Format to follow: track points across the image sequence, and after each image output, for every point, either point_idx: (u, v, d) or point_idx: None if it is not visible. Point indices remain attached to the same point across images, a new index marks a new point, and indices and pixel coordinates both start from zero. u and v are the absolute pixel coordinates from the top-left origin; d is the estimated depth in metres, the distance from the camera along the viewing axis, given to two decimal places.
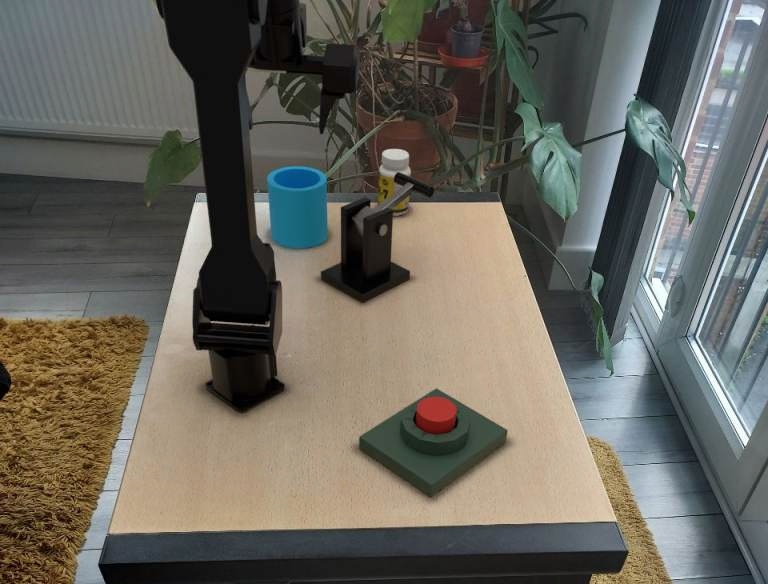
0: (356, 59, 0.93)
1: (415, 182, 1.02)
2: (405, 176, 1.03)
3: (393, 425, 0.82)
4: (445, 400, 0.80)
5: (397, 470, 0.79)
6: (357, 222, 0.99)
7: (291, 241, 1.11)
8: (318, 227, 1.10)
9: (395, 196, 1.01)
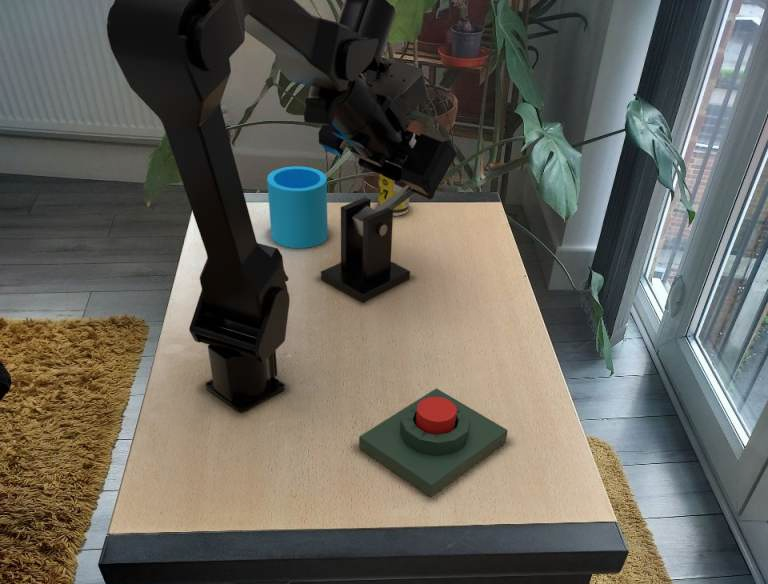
0: (436, 162, 0.90)
1: None
2: None
3: (393, 425, 0.82)
4: (445, 400, 0.80)
5: (397, 470, 0.79)
6: (357, 222, 0.99)
7: (291, 241, 1.11)
8: (318, 227, 1.10)
9: (395, 197, 1.01)
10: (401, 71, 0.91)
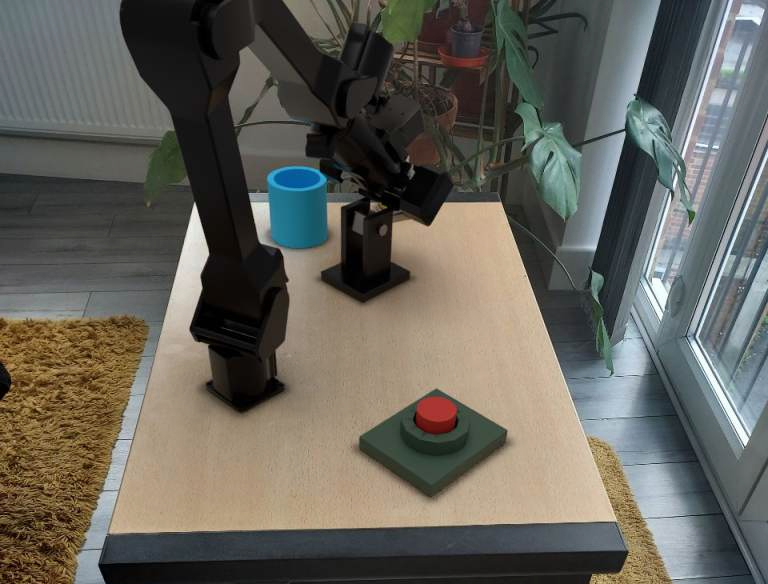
0: (434, 194, 0.92)
1: None
2: None
3: (393, 425, 0.82)
4: (445, 400, 0.80)
5: (397, 470, 0.79)
6: (359, 216, 0.99)
7: (291, 241, 1.11)
8: (318, 227, 1.10)
9: (396, 213, 1.03)
10: (400, 104, 0.94)
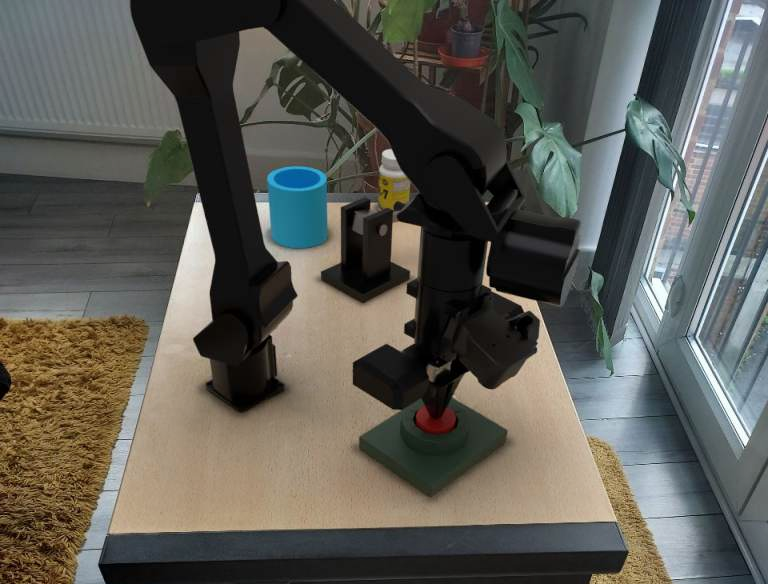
0: (374, 374, 0.68)
1: None
2: None
3: (393, 425, 0.82)
4: None
5: (397, 470, 0.79)
6: (359, 216, 0.99)
7: (291, 241, 1.11)
8: (318, 227, 1.10)
9: (396, 213, 1.03)
10: (512, 347, 0.68)
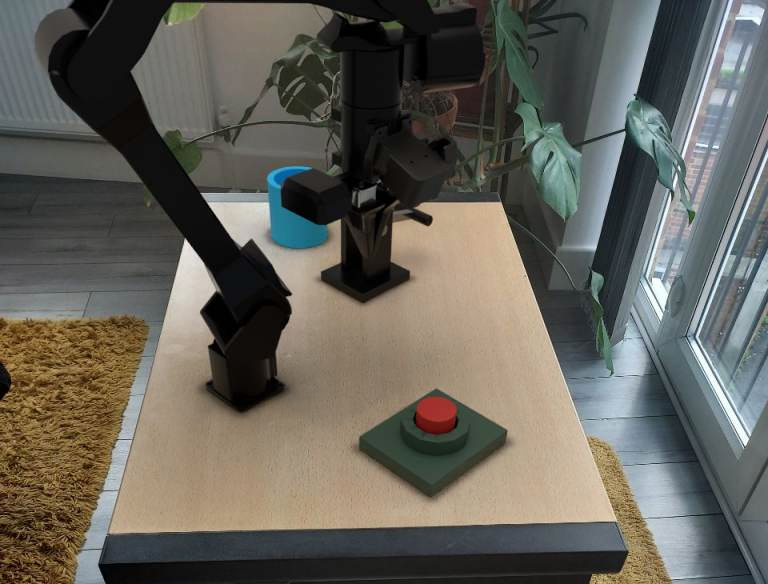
0: (298, 190, 0.72)
1: (415, 210, 1.05)
2: None
3: (393, 425, 0.82)
4: (445, 400, 0.80)
5: (397, 470, 0.79)
6: None
7: (291, 241, 1.11)
8: (318, 227, 1.10)
9: (396, 213, 1.03)
10: (429, 165, 0.72)
